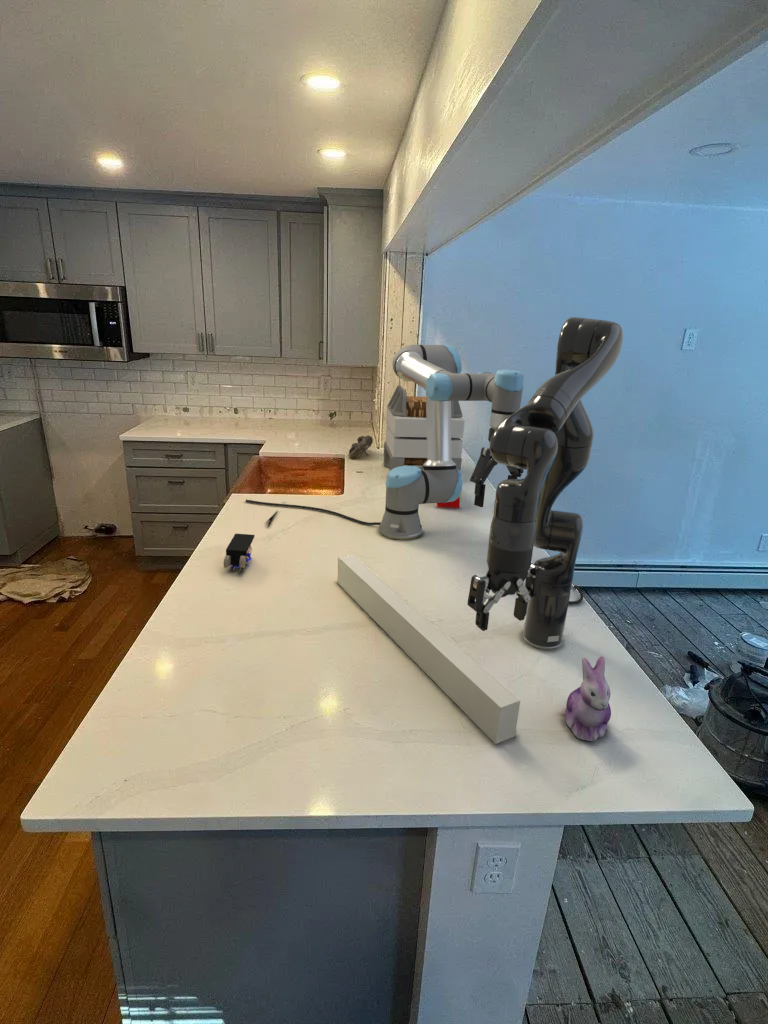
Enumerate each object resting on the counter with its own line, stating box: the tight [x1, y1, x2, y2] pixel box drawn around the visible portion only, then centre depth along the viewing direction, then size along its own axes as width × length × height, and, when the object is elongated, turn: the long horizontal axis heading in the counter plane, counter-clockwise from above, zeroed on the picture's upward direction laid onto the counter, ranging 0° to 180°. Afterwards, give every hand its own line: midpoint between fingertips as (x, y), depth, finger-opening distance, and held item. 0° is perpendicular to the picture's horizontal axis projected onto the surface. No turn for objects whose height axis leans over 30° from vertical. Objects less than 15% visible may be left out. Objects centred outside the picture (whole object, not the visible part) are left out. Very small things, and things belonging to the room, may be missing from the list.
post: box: [337, 553, 521, 745], centre depth 133 cm, size 71×5×8 cm, turn 29°
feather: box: [265, 511, 278, 527], centre depth 212 cm, size 2×28×2 cm
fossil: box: [348, 435, 374, 460], centre depth 302 cm, size 22×10×15 cm
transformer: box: [383, 384, 465, 472], centre depth 268 cm, size 34×33×41 cm
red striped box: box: [436, 474, 463, 509], centre depth 239 cm, size 12×13×30 cm
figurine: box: [564, 655, 612, 742], centre depth 107 cm, size 9×10×15 cm
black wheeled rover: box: [223, 533, 255, 573], centre depth 170 cm, size 7×8×15 cm
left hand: (494, 501), depth 162 cm, fingers open, 13 cm apart
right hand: (500, 623), depth 102 cm, fingers open, 8 cm apart
